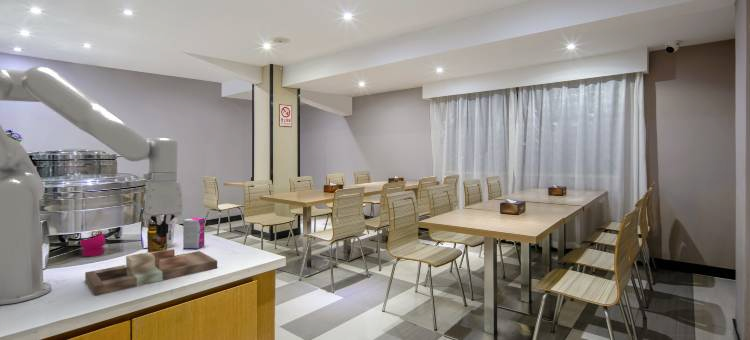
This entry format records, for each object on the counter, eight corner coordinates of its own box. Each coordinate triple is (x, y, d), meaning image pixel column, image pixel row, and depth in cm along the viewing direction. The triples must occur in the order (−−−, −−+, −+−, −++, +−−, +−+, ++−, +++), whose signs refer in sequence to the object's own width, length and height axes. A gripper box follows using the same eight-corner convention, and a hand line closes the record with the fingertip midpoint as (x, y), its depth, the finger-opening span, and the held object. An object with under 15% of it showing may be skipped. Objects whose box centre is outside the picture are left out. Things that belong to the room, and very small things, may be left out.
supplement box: (198, 249, 139) (197, 220, 139) (182, 249, 139) (182, 220, 139) (205, 245, 145) (204, 217, 144) (190, 245, 145) (190, 217, 145)
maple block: (131, 274, 105) (131, 260, 105) (126, 269, 109) (126, 256, 109) (155, 269, 109) (154, 256, 109) (149, 264, 113) (148, 252, 113)
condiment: (163, 257, 129) (162, 224, 129) (137, 258, 128) (136, 224, 127) (171, 251, 137) (171, 220, 136) (147, 252, 135) (146, 220, 135)
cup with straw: (169, 242, 149) (168, 194, 148) (183, 245, 145) (182, 195, 144) (148, 247, 142) (147, 196, 140) (162, 250, 137) (161, 198, 136)
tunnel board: (199, 257, 129) (199, 242, 129) (217, 267, 119) (217, 251, 118) (85, 280, 106) (84, 262, 106) (94, 295, 96) (94, 275, 95)
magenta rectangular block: (85, 258, 127) (83, 201, 126) (77, 254, 131) (75, 199, 130) (109, 253, 133) (107, 199, 132) (100, 250, 137) (98, 197, 136)
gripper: (138, 179, 105) (137, 242, 105) (193, 178, 115) (191, 235, 116) (131, 177, 110) (130, 237, 111) (184, 176, 121) (183, 231, 121)
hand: (162, 236), depth 113 cm, fingers closed
